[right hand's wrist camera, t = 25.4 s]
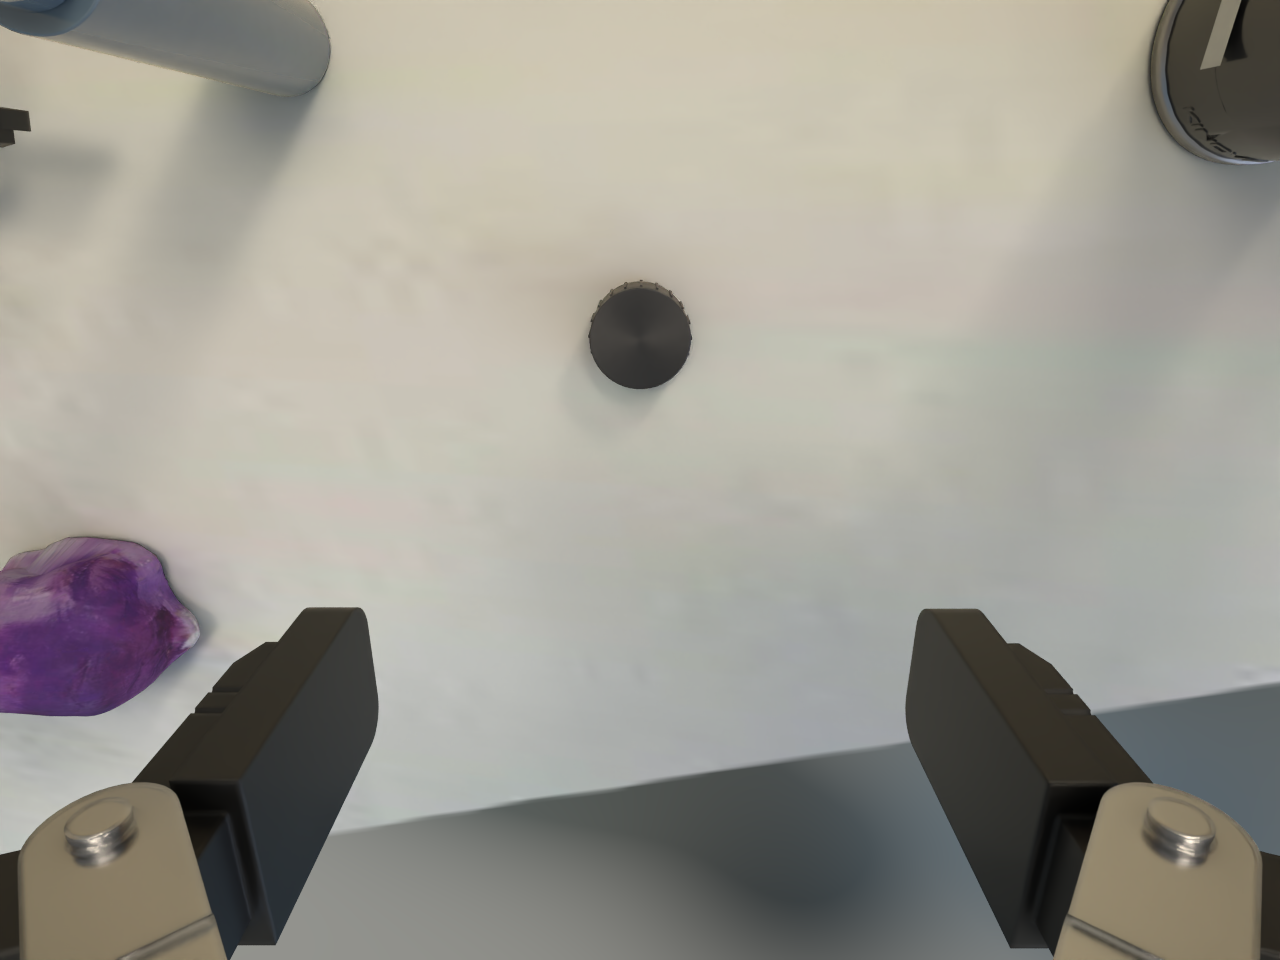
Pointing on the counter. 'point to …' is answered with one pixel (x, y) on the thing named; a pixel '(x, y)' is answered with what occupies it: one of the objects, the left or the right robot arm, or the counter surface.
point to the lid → (640, 335)
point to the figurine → (86, 627)
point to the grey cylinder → (191, 36)
